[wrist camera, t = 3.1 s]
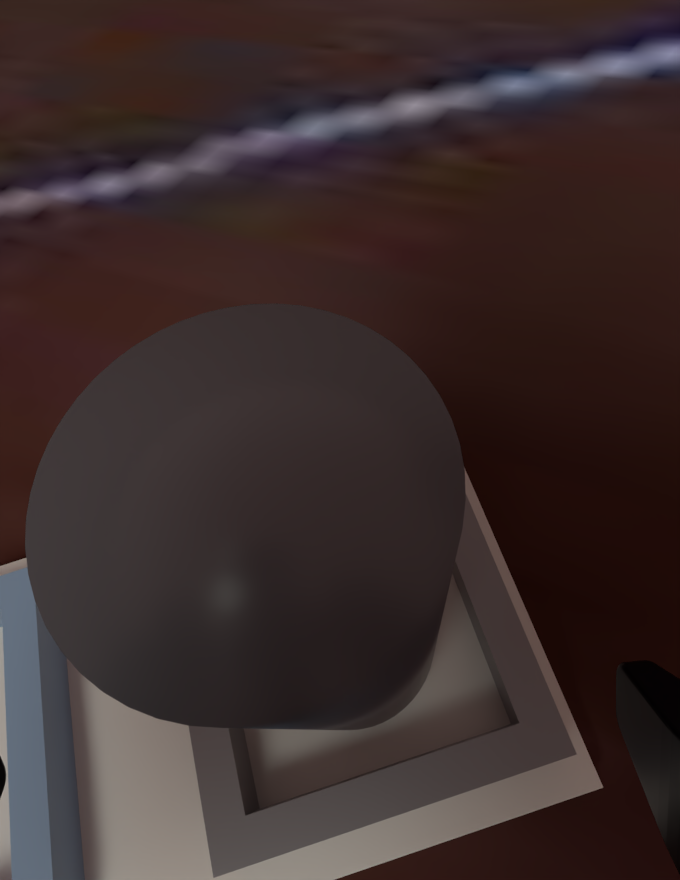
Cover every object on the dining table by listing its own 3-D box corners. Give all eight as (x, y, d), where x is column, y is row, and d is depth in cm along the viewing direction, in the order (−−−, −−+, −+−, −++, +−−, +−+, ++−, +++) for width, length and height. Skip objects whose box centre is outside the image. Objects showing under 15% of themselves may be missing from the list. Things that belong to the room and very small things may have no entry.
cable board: (443, 436, 21) (447, 401, 19) (592, 784, 16) (621, 792, 14) (-202, 644, 20) (-277, 633, 18) (-250, 1072, 15) (-363, 1130, 13)
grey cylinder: (400, 762, 16) (367, 824, 5) (234, 687, 17) (-64, 613, 7) (457, 584, 18) (519, 360, 7) (303, 528, 19) (159, 267, 8)
